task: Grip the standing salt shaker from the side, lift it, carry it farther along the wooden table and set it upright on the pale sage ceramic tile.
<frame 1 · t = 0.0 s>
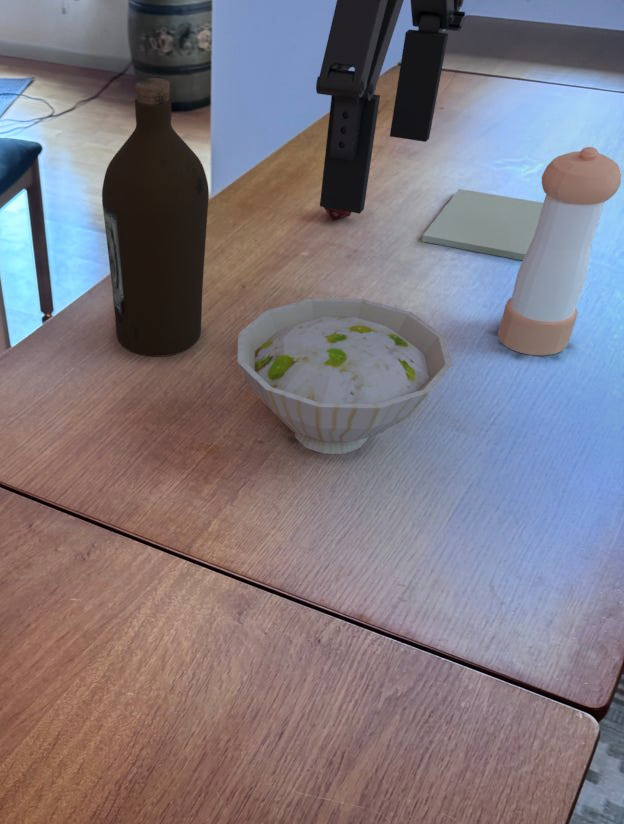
hand: (377, 171, 62), 27 cm above the table, tool pointing down, fingers open, 13 cm apart
tile: (501, 228, 117), on the table
salt shaker: (532, 340, 98), on the table
olive oil: (157, 336, 102), on the table
bowl: (330, 434, 88), on the table
dice: (337, 220, 120), on the table
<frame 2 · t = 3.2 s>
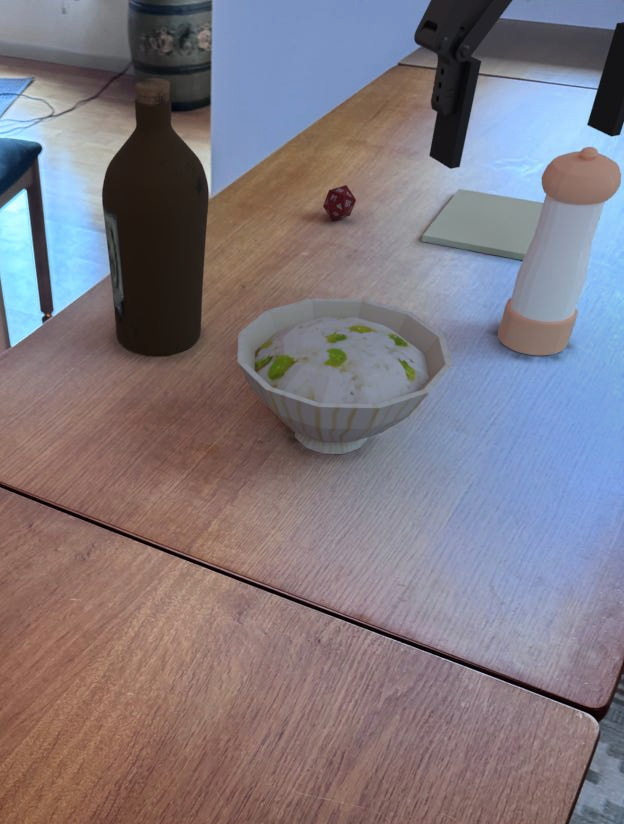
hand: (525, 146, 66), 26 cm above the table, tool pointing down, fingers open, 13 cm apart
nothing on the table moved.
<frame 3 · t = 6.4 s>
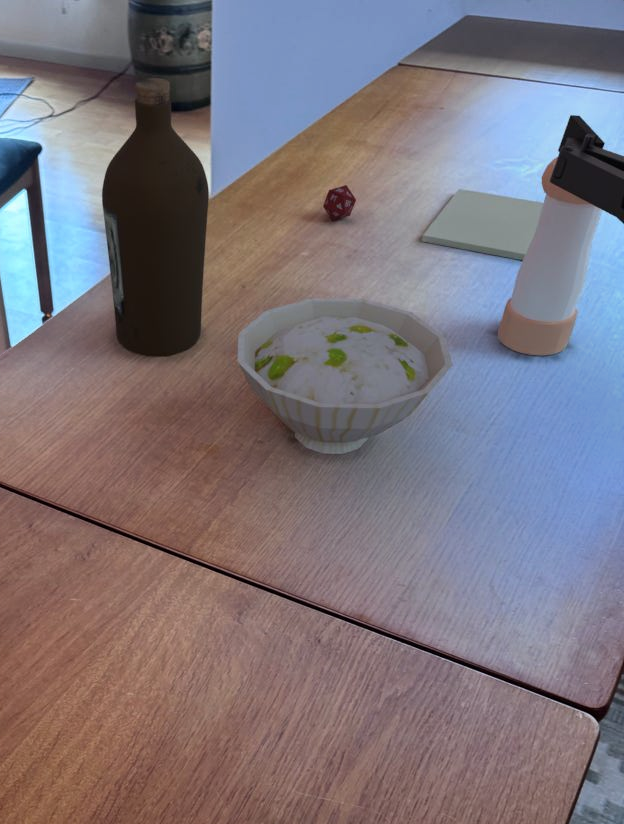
nothing on the table moved.
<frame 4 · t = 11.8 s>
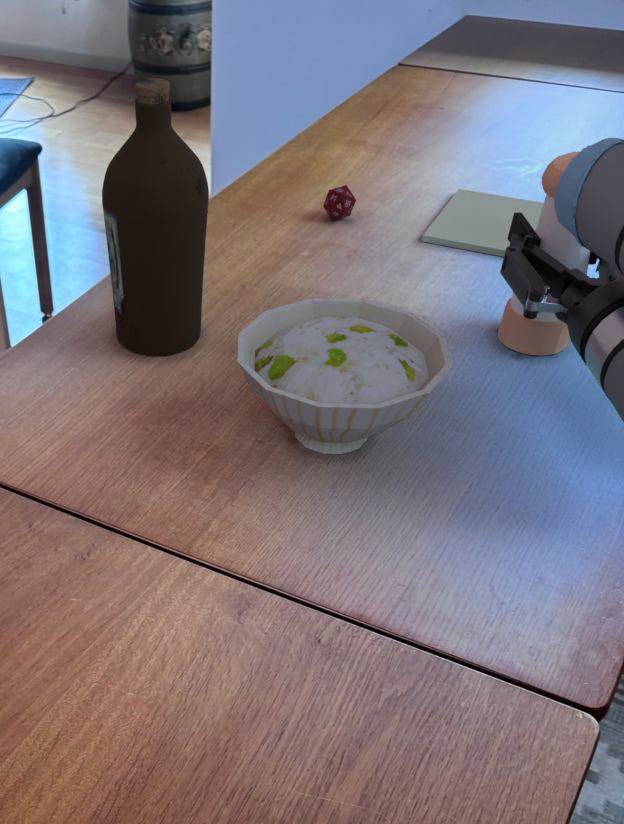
hand: (544, 224, 94), 10 cm above the table, tool horizontal, fingers closed on salt shaker, 5 cm apart
salt shaker: (532, 340, 98), on the table, touching gripper
everything else where it was.
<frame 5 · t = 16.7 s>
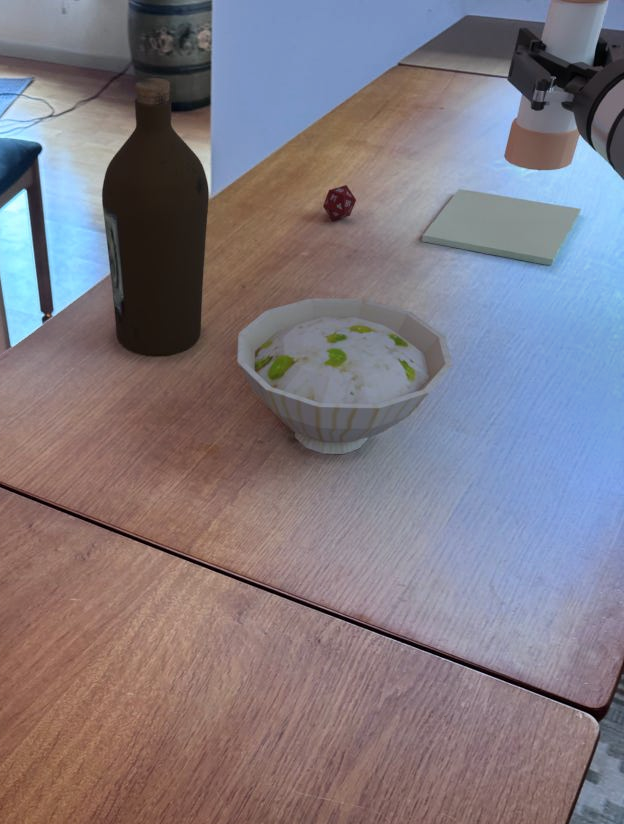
hand: (548, 41, 98), 22 cm above the table, tool horizontal, fingers closed on salt shaker, 5 cm apart
salt shaker: (537, 160, 102), point 12 cm above the table, touching gripper
everything else where it was.
when the fingers open (11 cm above the table, at t = 21.4 s): salt shaker stays where it is, resting on tile.
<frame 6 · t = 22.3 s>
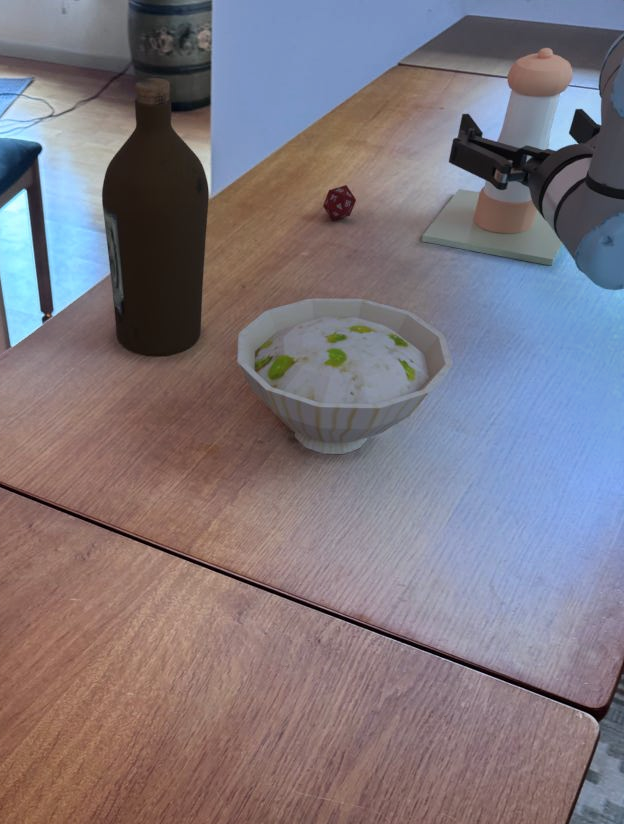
hand: (518, 123, 111), 11 cm above the table, tool horizontal, fingers open, 13 cm apart
salt shaker: (502, 223, 116), point 1 cm above the table, touching tile
everything else where it was.
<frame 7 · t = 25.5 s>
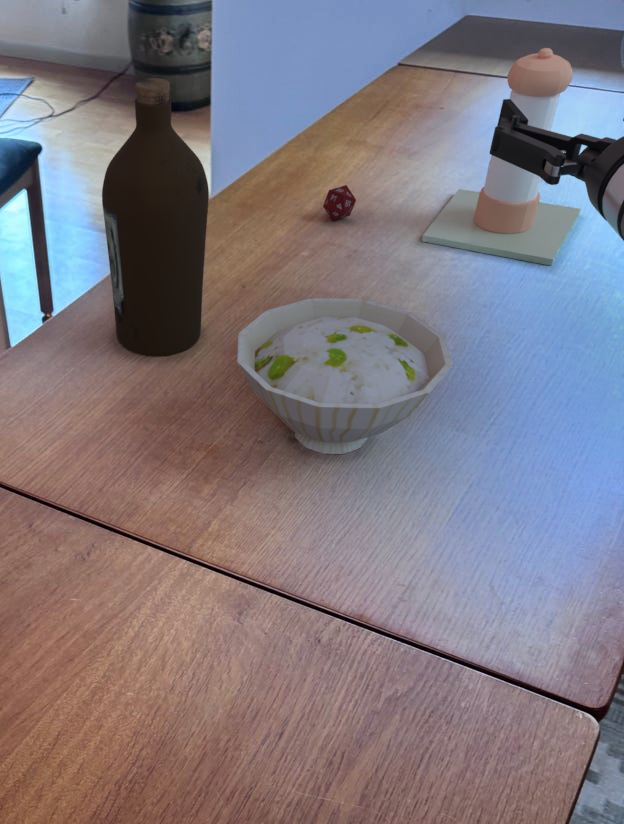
hand: (566, 109, 98), 17 cm above the table, tool horizontal, fingers open, 13 cm apart
nothing on the table moved.
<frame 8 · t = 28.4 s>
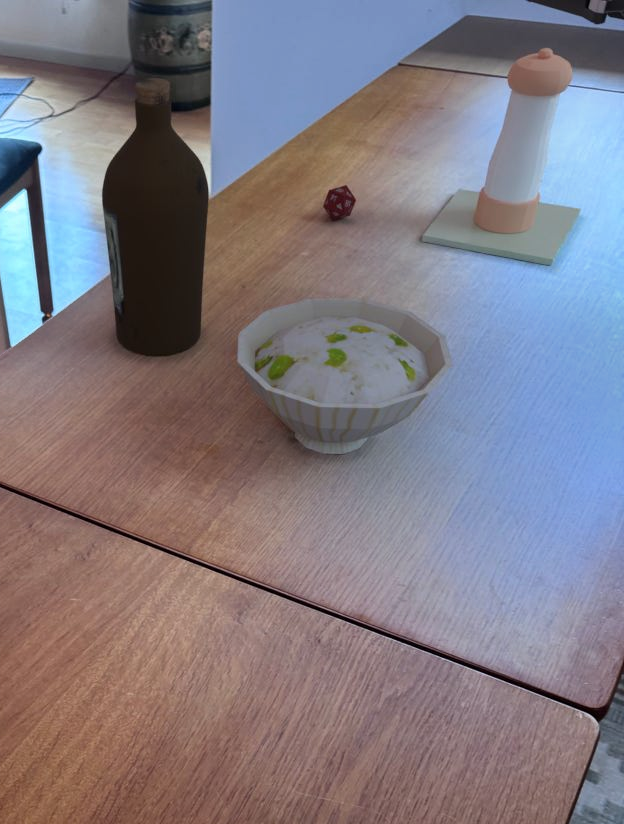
nothing on the table moved.
at the end: salt shaker inside the target area on the tile (0.0 cm from its centre), point 0.6 cm above the tile's base; salt shaker tilted 0°; the gripper is holding nothing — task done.
